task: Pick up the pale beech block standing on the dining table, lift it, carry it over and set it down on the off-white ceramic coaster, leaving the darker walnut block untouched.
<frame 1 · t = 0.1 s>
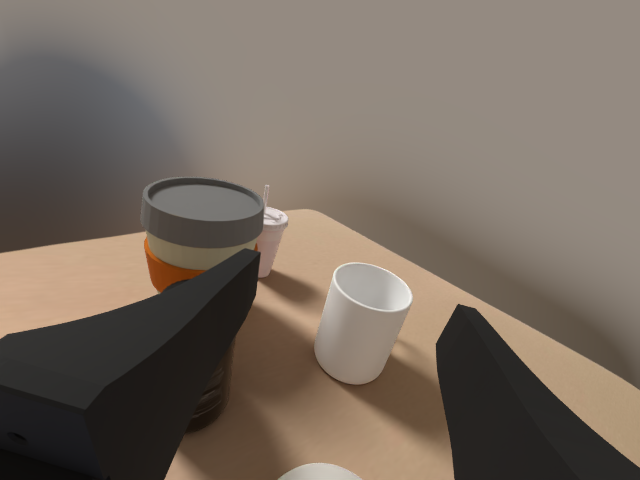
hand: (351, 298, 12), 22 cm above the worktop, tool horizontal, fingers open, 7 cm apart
reusable coffee cup: (200, 307, 40), on the worktop
mug: (353, 349, 40), on the worktop
supplement bottle: (189, 400, 29), on the worktop
smoothie: (258, 271, 50), on the worktop
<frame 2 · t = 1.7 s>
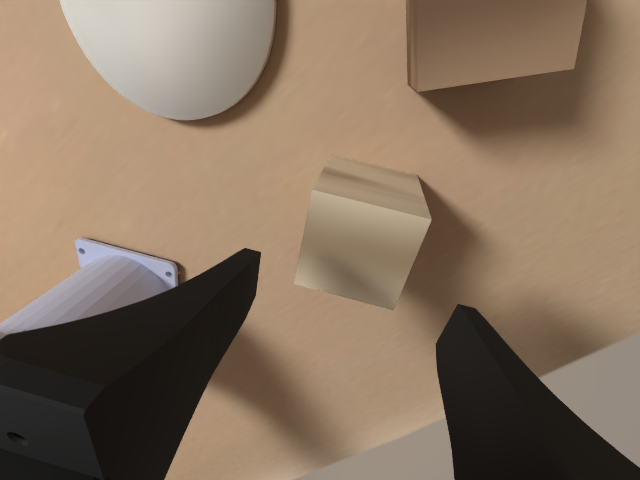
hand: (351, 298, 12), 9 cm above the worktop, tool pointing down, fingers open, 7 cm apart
coaster: (169, 1, 16), on the worktop
beech block: (362, 203, 19), on the worktop
walnut block: (463, 14, 14), on the worktop
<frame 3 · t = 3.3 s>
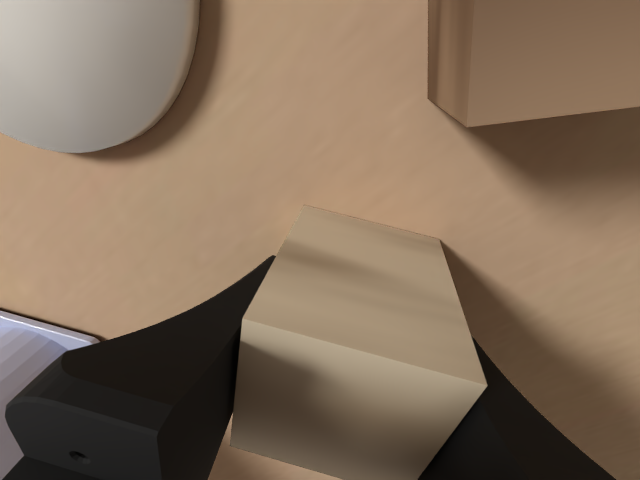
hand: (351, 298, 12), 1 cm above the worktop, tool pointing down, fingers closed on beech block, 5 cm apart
beech block: (353, 276, 13), on the worktop, touching gripper
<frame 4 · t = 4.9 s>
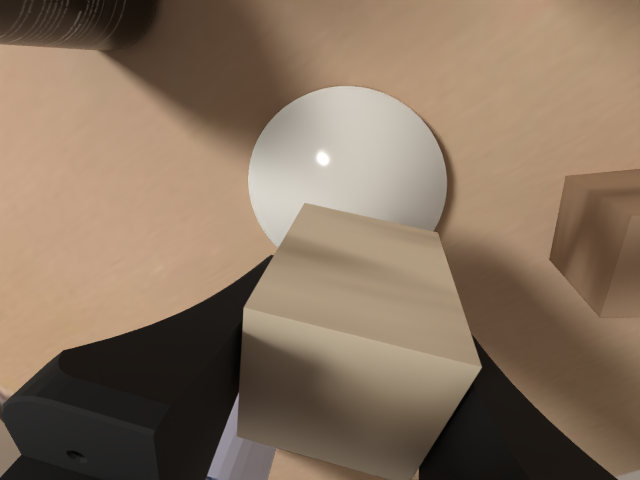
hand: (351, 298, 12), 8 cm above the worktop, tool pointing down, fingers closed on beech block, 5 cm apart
coaster: (344, 190, 18), on the worktop
beech block: (355, 271, 13), point 7 cm above the worktop, touching gripper
walnut block: (609, 216, 17), on the worktop
when the fingers open (3 cm above the worktop, at t = 6.9 s): beech block stays where it is, resting on coaster.
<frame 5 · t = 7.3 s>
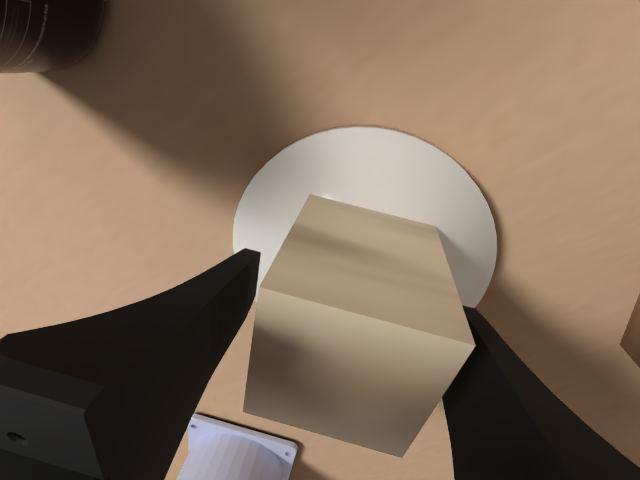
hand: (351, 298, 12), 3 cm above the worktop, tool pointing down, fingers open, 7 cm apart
coaster: (356, 253, 14), on the worktop
beech block: (355, 261, 14), point 1 cm above the worktop, touching coaster
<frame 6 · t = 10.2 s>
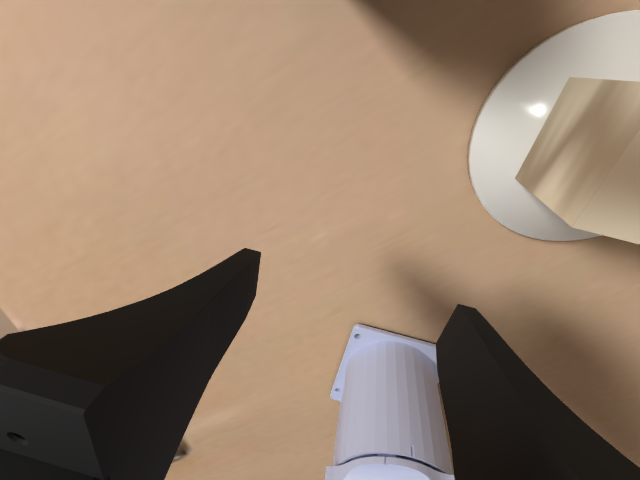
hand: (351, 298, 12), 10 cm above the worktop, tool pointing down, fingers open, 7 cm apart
coaster: (580, 141, 17), on the worktop
beech block: (589, 143, 16), point 1 cm above the worktop, touching coaster
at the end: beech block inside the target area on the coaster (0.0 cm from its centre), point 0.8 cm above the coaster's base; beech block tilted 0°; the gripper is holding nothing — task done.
